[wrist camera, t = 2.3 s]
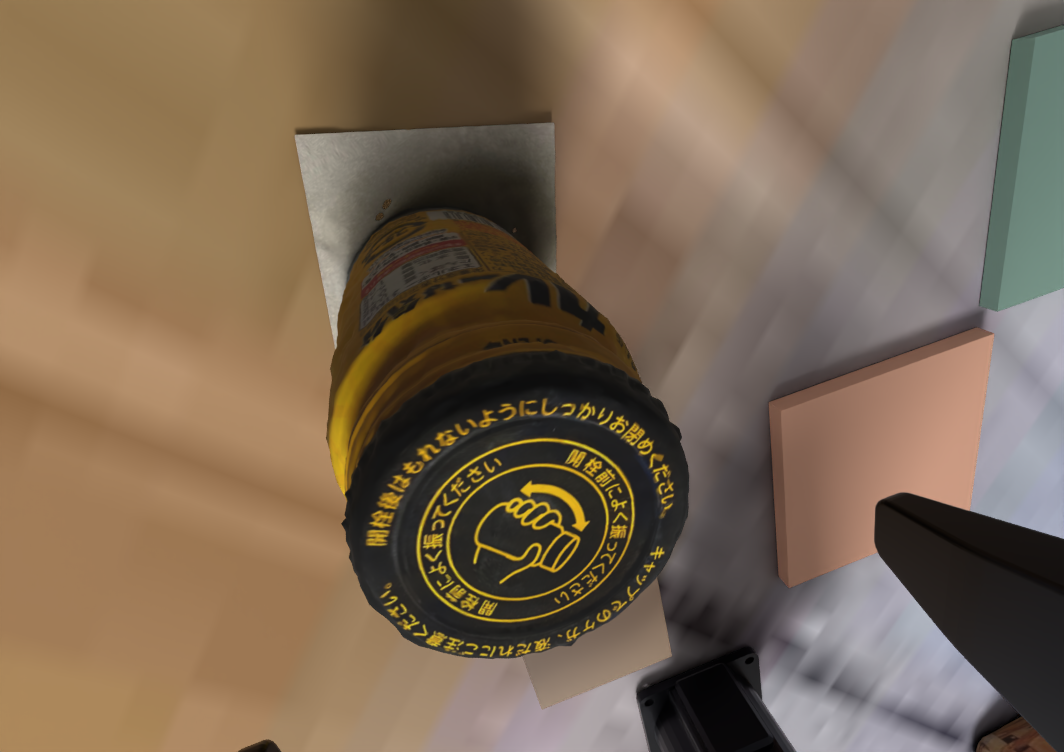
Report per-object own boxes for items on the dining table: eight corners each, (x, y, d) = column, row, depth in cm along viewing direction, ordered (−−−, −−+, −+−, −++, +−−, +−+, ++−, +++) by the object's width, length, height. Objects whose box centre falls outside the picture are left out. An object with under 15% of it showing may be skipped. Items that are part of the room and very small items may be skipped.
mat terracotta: (954, 505, 30) (969, 515, 29) (778, 576, 29) (788, 588, 28) (976, 327, 25) (994, 333, 25) (768, 402, 24) (780, 410, 23)
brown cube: (619, 562, 26) (672, 656, 21) (510, 604, 25) (541, 709, 21) (599, 472, 24) (652, 555, 19) (479, 515, 23) (506, 612, 18)
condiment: (346, 408, 20) (328, 754, 9) (295, 134, 16) (165, 184, 6) (556, 378, 21) (747, 644, 11) (551, 122, 18) (828, 142, 7)
